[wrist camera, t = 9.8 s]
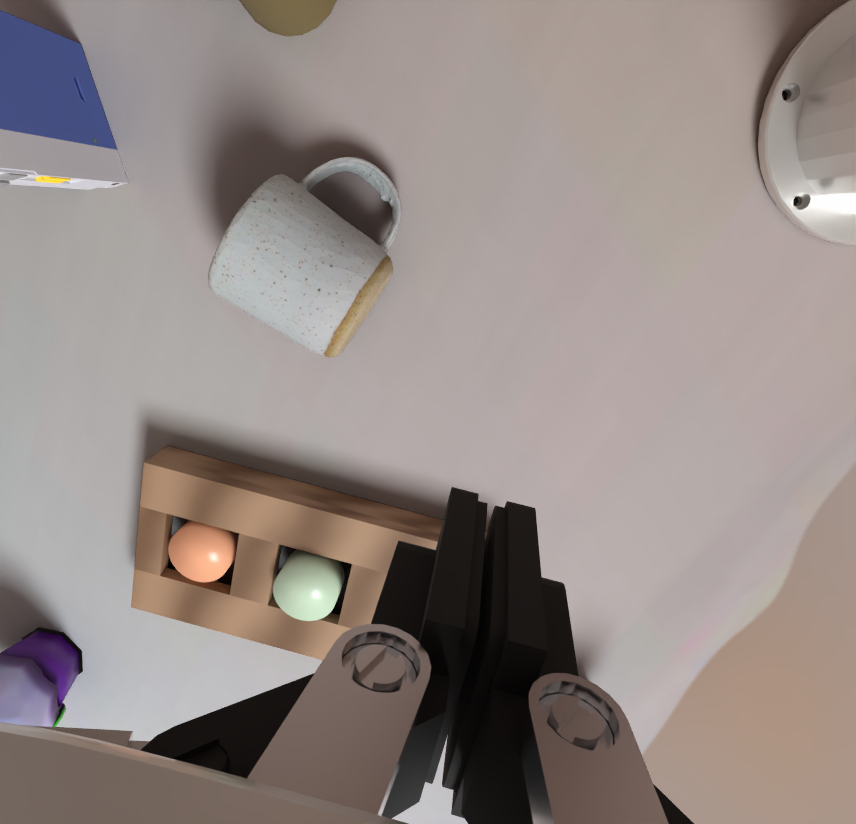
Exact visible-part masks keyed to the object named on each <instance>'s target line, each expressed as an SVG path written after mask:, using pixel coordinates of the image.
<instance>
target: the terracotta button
mask: <svg viewBox="0 0 856 824" xmlns="http://www.w3.org/2000/svg"><path fill="white" fill-rule="evenodd" d="M238 539H239V533H236V532H232V531H229V530H225V529H221V528H218V527H214V526H210V525H207V524H203V523H199V522H196V521H192V520H188V521H187V522H186V523H185V524H184V525H183V526H182V527H181V528H180V529H179V530H178V531H177V532H176V533H175V534H174V535H173V537H172V538H171V540H170V543H169V547H168V552H169V557H170V560H171V562H172V564H173V565H174V567H175V568H176V569H177V570H178V571H179V572H180V573H181V574H182V575H183V576H185V577H187V578H189V579H191V580H194V581H197V582H211V581H215V580H217V579H219V578H220V577H222V576H223V575H224V573H225V572H226V571H227V570H228V568H229V567H230V566H231V564H232V563H233V562H234V560H235V558H236V552H237V545H238Z"/></svg>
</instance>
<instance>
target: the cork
mask: <svg viewBox="0 0 856 824" xmlns="http://www.w3.org/2000/svg"><path fill="white" fill-rule="evenodd" d="M240 2H241V3H242V5H243V6H244V7H245V9H246V10H247V11H248V13H249V14H250V15H251V16H252V18H253V19H254V20H255V22H257V23H258V24H260V25H261V26H263V27H264V28H265V29H267V30H268V31H270V32H273V33H276V34H280V35H284V36H294V35H303V34H305V33H307V32H309V31H311V30H313V29H315V28H317V27H318V26H319V25H320V24H321V23H322V22H323V21H324V20H325V19H326V18H327V17H328V16H329V15H330V13H331V11H332V9H333V7H334V5H335V2H336V0H240Z"/></svg>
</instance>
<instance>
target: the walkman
mask: <svg viewBox="0 0 856 824" xmlns="http://www.w3.org/2000/svg"><path fill="white" fill-rule="evenodd" d="M127 183H128V180H127V177H126V174H125V171H124V168H123V165H122V162H121V159H120V156H119V153H118V150H117V148H116V145H115V142H114V139H113V136H112V134H111V131H110V128H109V125H108V122H107V119H106V116H105V113H104V110H103V107H102V104H101V101H100V99H99V96H98V93H97V90H96V87H95V84H94V81H93V78H92V75H91V72H90V69H89V67H88V64H87V61H86V58H85V55H84V52H83V49H82V46H81V44H80V43H77V42H75V41H72V40H70V39H68V38H65V37H63V36H61V35H58V34H56V33H53V32H51V31H49V30H46V29H44V28H42V27H39V26H37V25H34V24H32V23H30V22H27V21H25V20H23V19H20V18H18V17H15V16H13V15H11V14H8V13H6V12H4V11H1V10H0V186H4V185H7V184H14V185H29V186H44V187H59V188H73V189H88V190H90V189H94V188H98V187H102V188H112V187H116V186H119V185H123V184H127Z"/></svg>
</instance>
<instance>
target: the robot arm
mask: <svg viewBox="0 0 856 824" xmlns="http://www.w3.org/2000/svg"><path fill="white" fill-rule="evenodd" d="M782 91H785V92H787V98H786V100H783V97H782ZM758 153H759V161H760V170H761V173H762V176H763V179H764V182H765V185H766V188H767V191H768V192H769V194H770V196H771V197H772V199H773V201H774V202H775V204H776V206H777V207H778V209H779V210H780V211H781V212H782V213H783V214H784V215H785V216H786V217H787V218H788V219H789V220H790V221H791V222H792V223H793V224H794V225H796V226H797V227H799V228H801V229H802V230H804V231H805V232H807V233H808V234H810V235H813V236H815V237H818V238H821V239H823V240H826V241H829V242H834V243H841V244H847V245H856V0H849V1H848V2H846V3H845V4H843V5H841V6H840V7H838V8H837V9H835V10H833V11H832V12H831V13H830V14H828V15H827V16H826V17H825V18H824V19H822V20H821V21H820V22H819V23H818V24H816V25H815V26H814V27H813V28H812V29H810V30H809V32H808V33H807V34H806V35H805V36H804V37H803V38H802V40H801V41H800V42H799V43H798V44H797V45H796V46H795V47H794V49H793V50H792V51H791V52H790V54H789V56H788V57H787V59H786V60H785V62H784V63H783V65H782V66H781V68H780V70H779V71H778V73H777V74H776V77H775V79H774V81H773V83H772V86H771V88H770V90H769V93H768V95H767V97H766V100H765V104H764V108H763V112H762V116H761V120H760V125H759V138H758ZM795 197H797V198H798V203H797V204H796V205H795V206H794V205H793V201H794V198H795ZM486 517H487V503H483V502H479V501H478V494H477V493H473V492H469V491H465V490H461V489H457V488H453V487H452V489H451V492H450V496H449V500H448V504H447V508H446V512H445V515H444V519H443V523H442V527H441V531H440V535H439V539H438V543H437V547H436V550H434V549H430V548H426V547H422V546H418V545H415V544H411V543H407V542H403V541H398V543H397V546H396V549H395V552H394V555H393V558H392V561H391V564H390V567H389V570H388V573H387V576H386V579H385V582H384V585H383V588H382V591H381V594H380V597H379V600H378V603H377V606H376V609H375V612H374V615H373V618H372V622H371V624H366V625H361V626H356V627H354V628H352V629H350V630H348V631H346V632H344V633H343V634H342V635H341V636H340V637H339V638H338V639H337V640H336V641H335V643H334V644H333V646H332V647H331V649H330V650H329V652H328V653H327V655H326V657H325V658H324V660H323V661H322V663H321V664H320V666H319V667H318V669H317V670H316V672H315V673H314V674H311V675H309V676H306V677H303V678H301V679H298V680H296V681H293V682H290V683H288V684H285V685H282V686H280V687H277V688H274V689H272V690H269V691H267V692H264V693H261V694H259V695H256V696H253V697H251V698H248V699H245V700H243V701H240V702H238V703H235V704H232V705H230V706H227V707H224V708H222V709H219V710H216V711H214V712H211V713H209V714H206V715H203V716H201V717H198V718H195V719H193V720H190V721H187V722H185V723H182V724H180V725H177V726H174V727H172V728H171V729H169V730H167V731H165V732H163V733H161V734H159V735H157V736H156V737H155V738H154V739H152V740H151V741H150V742H149V741H132V734H133V731H120V730H101V729H83V728H64V727H46V726H27V725H18V724H11V723H3V722H0V824H408V823H404V822H401V821H397V820H394V819H392V818H393V817H395V816H396V815H398V814H400V813H401V812H403V811H405V810H406V809H408V808H410V807H411V806H413V805H415V804H416V803H418V802H419V800H420V797H421V794H422V790H423V787H424V784H425V782H428V783H431V784H432V783H433V780H434V777H435V774H436V771H437V767H438V764H439V761H440V758H441V754H442V751H443V748H444V744H445V741H446V738H447V745H446V754H445V763H444V771H443V781H442V786H443V787H445V788H449V789H453V790H454V791H453V802H452V812H451V814H452V815H455V816H459V817H463V818H465V820H466V821H467V822H468V824H694V823H693V822H691V821H690V819H689V818H687V816H686V815H684V814H683V813H682V812H681V811H680V810H679V809H678V808H677V807H676V806H675V805H674V804H673V803H672V802H671V801H670V800H669V799H668V798H667V797H666V796H665V795H664V794H663V793H662V792H661V791H660V790H659V789H658V788H657V787H656V786H655V785H654V784H653V783H652V780H651V778H650V775H649V772H648V770H647V767H646V765H645V762H644V760H643V757H642V755H641V752H640V750H639V747H638V745H637V742H636V739H635V737H634V734H633V732H632V729H631V727H630V724H629V722H628V720H627V718H626V716H625V714H624V712H623V711H622V709H621V707H620V706H619V705H618V704H617V703H616V702H615V700H614V699H613V698H612V697H611V696H610V695H609V694H608V693H606V692H605V691H604V690H602V689H601V688H600V687H598V686H597V685H596V684H594V683H592V682H590V681H588V680H586V679H584V678H582V677H578V670H577V664H576V657H575V650H574V643H573V637H572V630H571V623H570V617H569V610H568V603H567V596H566V590H565V586H564V584H563V583H561V582H557V581H553V580H549V579H546V578H542V577H541V568H540V556H539V545H538V534H537V523H536V511H535V508H532V507H528V506H524V505H520V504H516V503H512V502H508V501H507V503H506V505H505V508H503V507H499V506H495V507H494V510H493V513H492V517H491V520H490V524H489V527H488V531H487V534H486V538H485V531H486ZM447 735H448V737H447Z"/></svg>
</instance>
